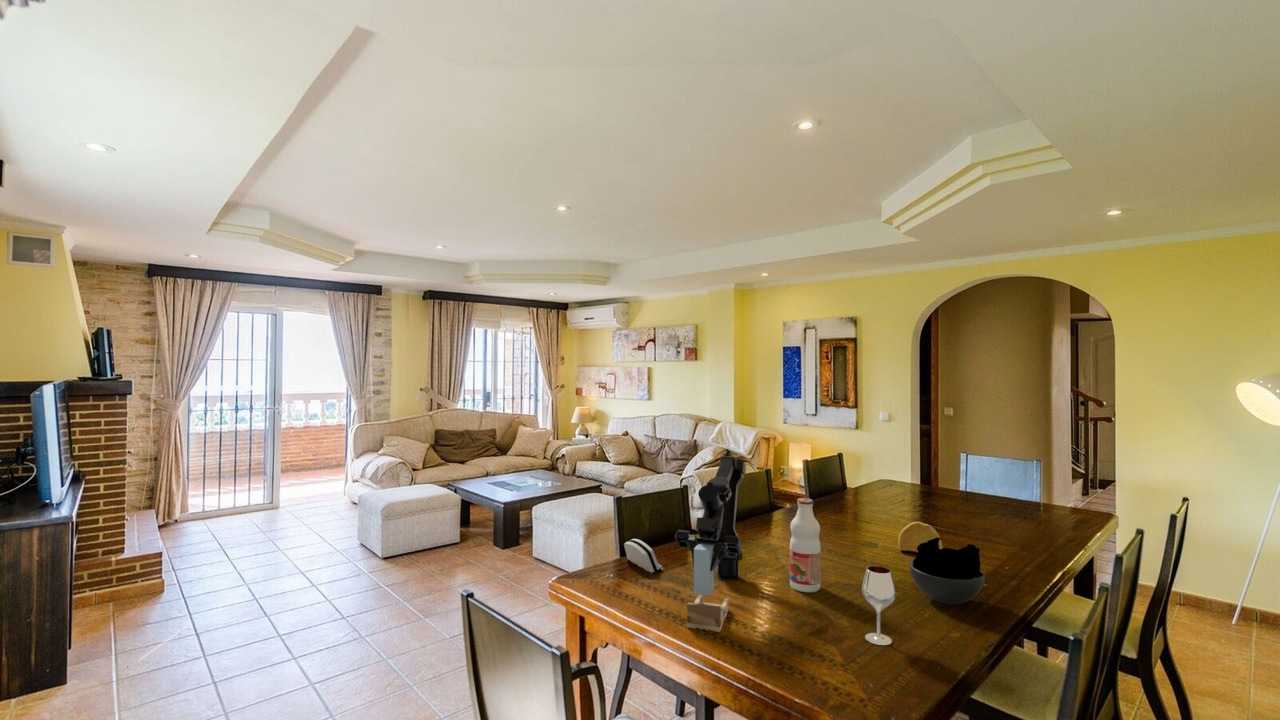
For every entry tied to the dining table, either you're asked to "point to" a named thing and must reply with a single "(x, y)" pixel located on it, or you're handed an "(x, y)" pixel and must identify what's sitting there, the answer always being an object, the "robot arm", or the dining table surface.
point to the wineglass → (878, 597)
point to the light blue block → (703, 569)
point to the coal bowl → (947, 572)
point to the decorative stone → (916, 536)
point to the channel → (706, 614)
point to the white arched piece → (641, 555)
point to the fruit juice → (805, 549)
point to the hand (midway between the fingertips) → (702, 569)
